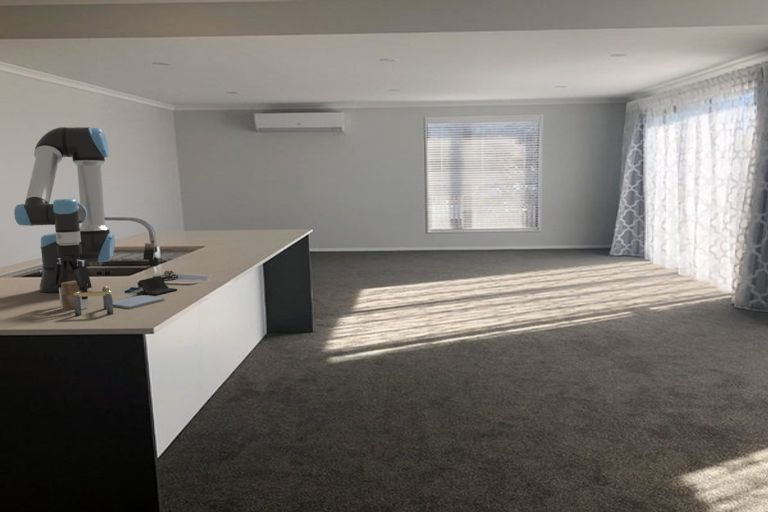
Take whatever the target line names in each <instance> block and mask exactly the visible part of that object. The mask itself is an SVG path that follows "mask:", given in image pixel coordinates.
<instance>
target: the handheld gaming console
mask: <svg viewBox="0 0 768 512" xmlns="http://www.w3.org/2000/svg"><path fill="white" fill-rule="evenodd" d="M152 277H153V276H152ZM152 277H149V278H144V279H140V280H139V281H138V283H139V285H140V287H141V288H142V290H143V292H144V296H152V297H158V296H161V295H165V294H169V293H174V292H178V288H173V287H168V286H167V285H166V282H165V281H163V279H162V278H161V276H158V277H153V278H152Z"/></svg>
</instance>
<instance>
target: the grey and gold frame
mask: <svg viewBox="0 0 768 512" xmlns="http://www.w3.org/2000/svg"><path fill="white" fill-rule="evenodd" d="M83 296H88V297H102V301H103V303H102V304H103V310H106V315H107V316H108V315H113V314H114V306H113V302H114V301H113V293H112V291H111V290H110V288H109V287H108V285H105V286H103V287H102V291H87V292H75V293H74V294H73V299H74V309H73V310H74V316H75V317H79V316H82V309H81V301H80V297H83Z"/></svg>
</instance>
